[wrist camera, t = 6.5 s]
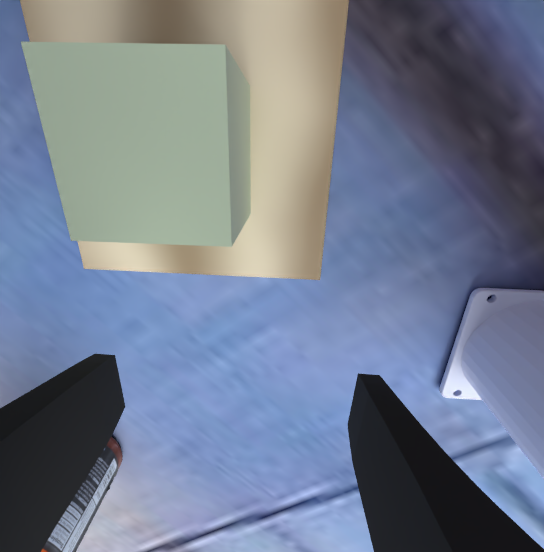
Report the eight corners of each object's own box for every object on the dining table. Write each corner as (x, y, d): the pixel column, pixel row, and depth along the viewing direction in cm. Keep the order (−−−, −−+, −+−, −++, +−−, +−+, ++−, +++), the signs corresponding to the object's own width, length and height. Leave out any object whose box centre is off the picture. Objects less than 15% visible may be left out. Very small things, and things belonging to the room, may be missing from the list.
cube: (250, 86, 12) (225, 44, 7) (250, 213, 14) (231, 246, 9) (125, 83, 12) (21, 41, 7) (143, 210, 14) (70, 240, 9)
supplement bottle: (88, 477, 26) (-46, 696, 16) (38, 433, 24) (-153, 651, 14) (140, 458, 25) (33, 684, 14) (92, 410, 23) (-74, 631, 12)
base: (341, -10, 12) (353, -46, 10) (315, 262, 17) (320, 279, 15) (59, -14, 13) (8, -50, 10) (111, 253, 17) (84, 268, 15)
